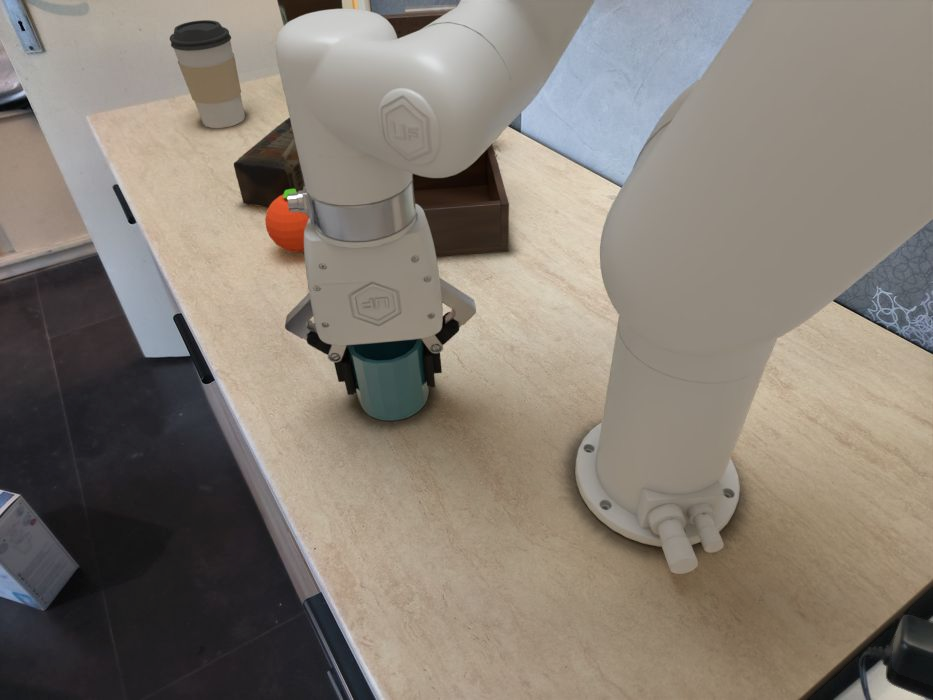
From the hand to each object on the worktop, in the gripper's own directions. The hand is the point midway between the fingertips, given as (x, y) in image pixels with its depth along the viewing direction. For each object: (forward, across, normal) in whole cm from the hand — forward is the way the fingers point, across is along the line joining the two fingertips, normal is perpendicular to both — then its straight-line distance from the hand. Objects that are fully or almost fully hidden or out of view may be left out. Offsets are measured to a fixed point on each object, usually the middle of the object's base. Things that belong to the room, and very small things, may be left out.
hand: (391, 379), depth 59 cm
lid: (-13, +7, +36) cm, 39 cm away
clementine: (+2, -11, +27) cm, 29 cm away
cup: (+2, 0, 0) cm, 2 cm away
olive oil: (+2, -12, +80) cm, 81 cm away
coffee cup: (+2, -28, +68) cm, 74 cm away
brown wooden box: (+2, +7, +30) cm, 31 cm away
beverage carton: (+2, -13, +45) cm, 47 cm away
